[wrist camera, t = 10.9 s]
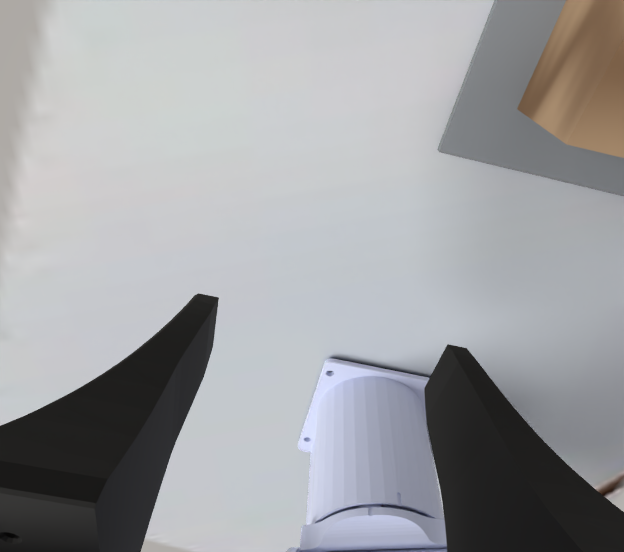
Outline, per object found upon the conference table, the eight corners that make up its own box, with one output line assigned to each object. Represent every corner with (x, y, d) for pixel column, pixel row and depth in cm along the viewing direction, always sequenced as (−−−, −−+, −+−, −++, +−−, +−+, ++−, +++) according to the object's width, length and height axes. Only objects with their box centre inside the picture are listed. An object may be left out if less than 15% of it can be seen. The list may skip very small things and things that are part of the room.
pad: (635, 196, 21) (640, 200, 21) (437, 149, 20) (439, 152, 20) (809, -58, 16) (819, -59, 15) (546, -136, 15) (551, -138, 15)
